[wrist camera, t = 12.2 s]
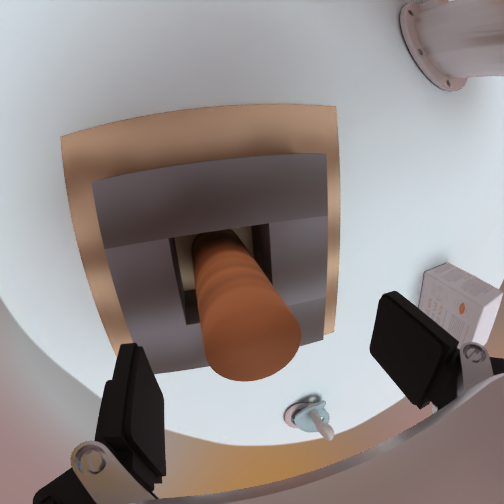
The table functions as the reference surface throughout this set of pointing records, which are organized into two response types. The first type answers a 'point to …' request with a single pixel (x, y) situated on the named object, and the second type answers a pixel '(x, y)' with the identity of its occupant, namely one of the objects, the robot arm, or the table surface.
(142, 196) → the socket
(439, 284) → the small box
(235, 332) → the peg
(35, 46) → the table surface
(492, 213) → the table surface
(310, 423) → the pacifier
